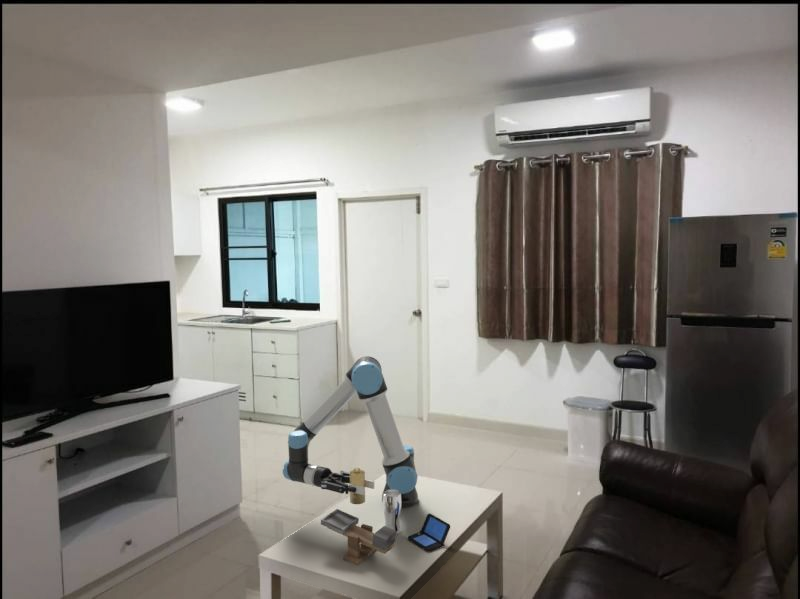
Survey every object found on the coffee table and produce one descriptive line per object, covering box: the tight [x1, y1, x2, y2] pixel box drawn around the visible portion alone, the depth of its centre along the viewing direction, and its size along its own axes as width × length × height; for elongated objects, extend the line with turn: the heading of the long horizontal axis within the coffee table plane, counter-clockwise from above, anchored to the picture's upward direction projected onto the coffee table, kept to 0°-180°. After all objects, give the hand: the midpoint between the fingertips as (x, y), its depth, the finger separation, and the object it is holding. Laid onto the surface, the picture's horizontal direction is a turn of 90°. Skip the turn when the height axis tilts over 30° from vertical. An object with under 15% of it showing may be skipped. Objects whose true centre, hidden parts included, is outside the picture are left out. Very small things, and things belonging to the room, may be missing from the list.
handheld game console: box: [407, 512, 451, 553], centre depth 218 cm, size 12×11×7 cm
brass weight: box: [348, 467, 366, 505], centre depth 222 cm, size 6×6×12 cm
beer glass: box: [382, 489, 402, 535], centre depth 225 cm, size 7×7×15 cm
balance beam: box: [320, 508, 397, 555], centre depth 209 cm, size 10×26×6 cm, turn 60°
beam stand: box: [343, 523, 376, 565], centre depth 209 cm, size 12×6×8 cm, turn 150°
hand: (369, 488), depth 220 cm, fingers closed on brass weight, 6 cm apart
